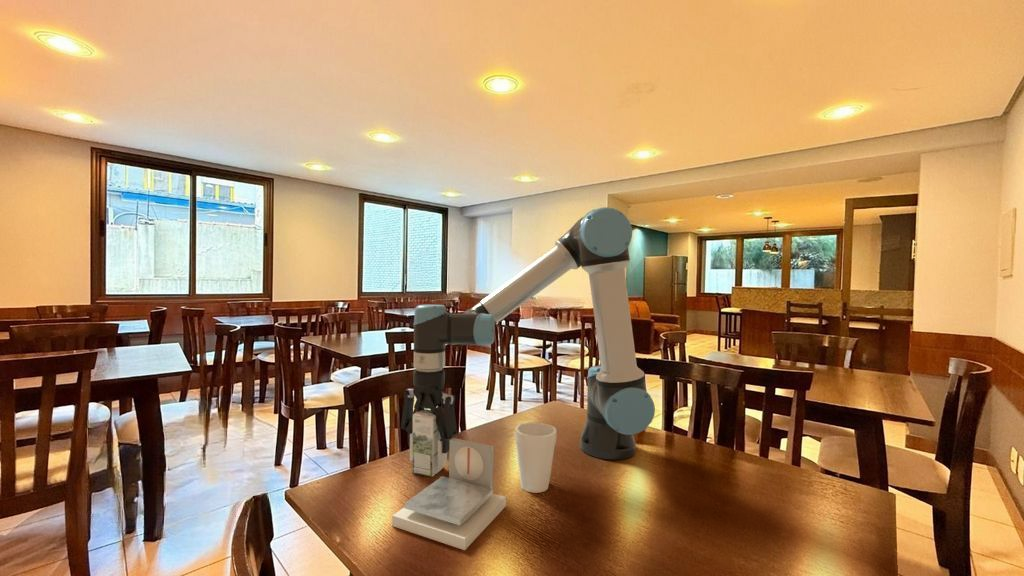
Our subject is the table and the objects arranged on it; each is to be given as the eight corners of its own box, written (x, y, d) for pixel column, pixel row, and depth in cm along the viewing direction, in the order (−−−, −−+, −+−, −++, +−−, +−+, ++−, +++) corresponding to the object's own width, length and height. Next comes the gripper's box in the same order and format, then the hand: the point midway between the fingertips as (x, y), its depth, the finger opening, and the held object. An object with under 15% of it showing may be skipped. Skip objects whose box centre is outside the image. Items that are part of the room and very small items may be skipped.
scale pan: (492, 494, 87) (492, 489, 87) (460, 525, 76) (460, 520, 76) (442, 480, 93) (442, 476, 93) (404, 508, 82) (404, 503, 82)
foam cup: (552, 498, 92) (553, 438, 92) (510, 493, 94) (511, 434, 94) (557, 478, 102) (558, 424, 101) (518, 474, 103) (519, 420, 103)
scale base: (505, 506, 89) (506, 449, 89) (464, 550, 74) (465, 481, 74) (441, 488, 96) (441, 435, 95) (392, 526, 81) (392, 463, 81)
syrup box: (444, 467, 106) (445, 409, 106) (432, 478, 101) (433, 416, 100) (423, 463, 108) (424, 406, 108) (411, 474, 103) (411, 413, 102)
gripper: (385, 366, 105) (384, 459, 105) (456, 376, 96) (455, 477, 97) (405, 361, 112) (404, 448, 112) (473, 370, 103) (472, 464, 103)
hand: (428, 461), depth 104 cm, fingers open, 8 cm apart
